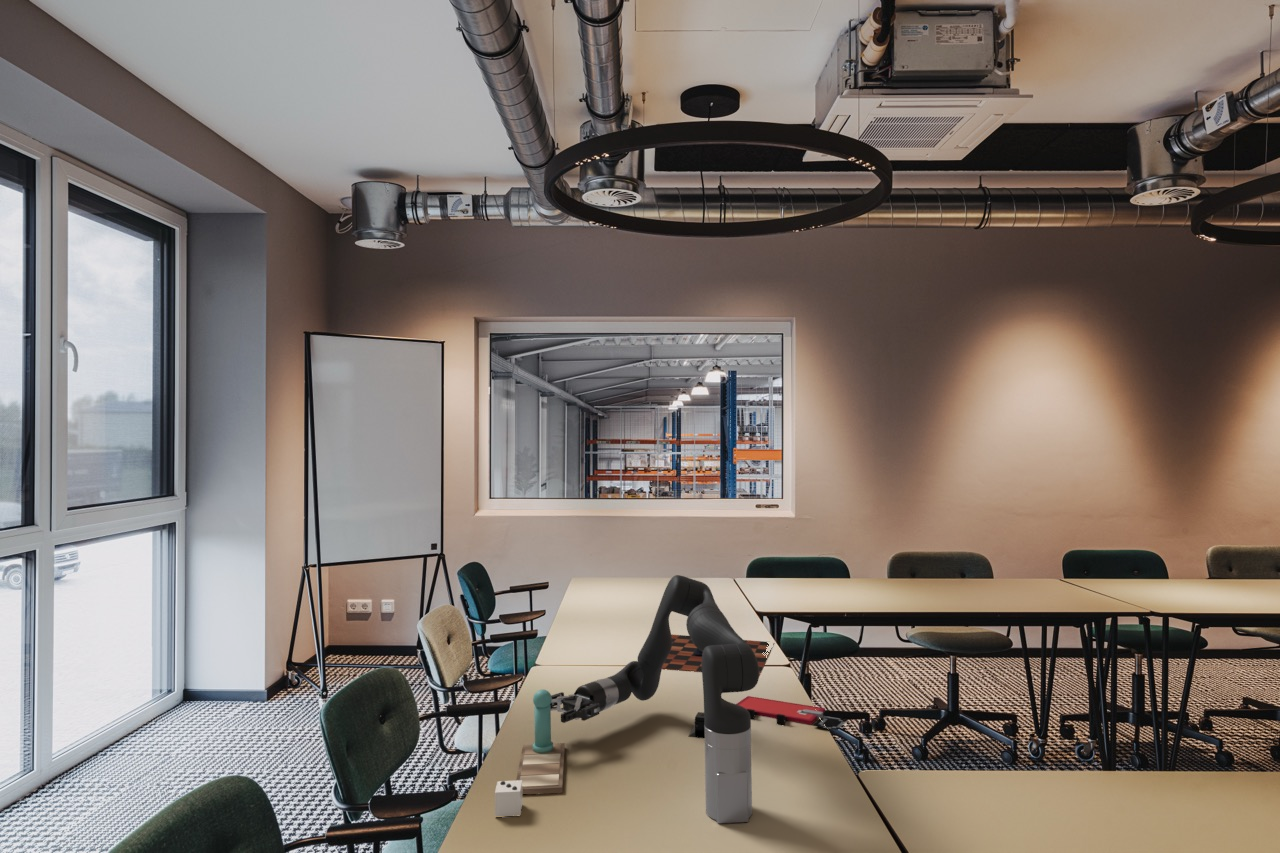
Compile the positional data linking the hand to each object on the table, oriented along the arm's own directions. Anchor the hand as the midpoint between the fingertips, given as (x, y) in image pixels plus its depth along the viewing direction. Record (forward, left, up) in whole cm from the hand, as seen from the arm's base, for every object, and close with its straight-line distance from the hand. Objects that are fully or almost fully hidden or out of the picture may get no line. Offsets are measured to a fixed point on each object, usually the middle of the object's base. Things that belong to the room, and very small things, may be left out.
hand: (549, 714), depth 186 cm
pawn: (-1, +2, -8) cm, 8 cm away
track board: (-10, +2, -9) cm, 13 cm away
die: (-28, +7, -9) cm, 30 cm away
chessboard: (+76, -51, -10) cm, 92 cm away
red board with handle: (+17, -63, -10) cm, 66 cm away
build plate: (+9, -38, -10) cm, 40 cm away
